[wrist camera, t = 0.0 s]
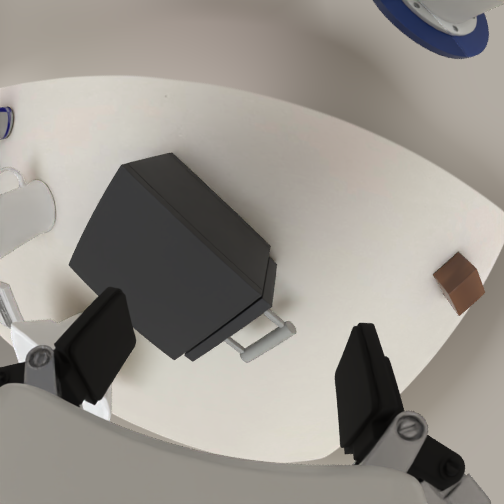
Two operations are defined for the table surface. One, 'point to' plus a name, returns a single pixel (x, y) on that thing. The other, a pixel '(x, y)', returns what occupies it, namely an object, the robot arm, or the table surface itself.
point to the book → (8, 307)
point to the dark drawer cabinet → (171, 253)
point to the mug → (24, 213)
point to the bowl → (47, 334)
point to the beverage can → (5, 122)
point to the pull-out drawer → (246, 317)
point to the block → (459, 283)
